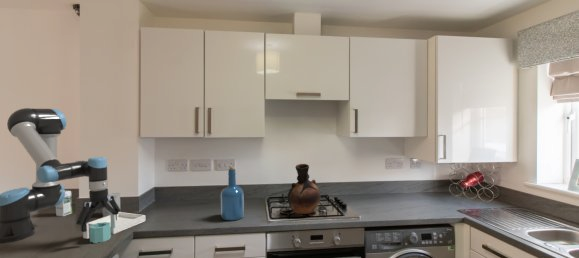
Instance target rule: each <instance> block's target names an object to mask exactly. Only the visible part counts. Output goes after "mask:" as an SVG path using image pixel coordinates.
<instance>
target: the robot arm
mask: <svg viewBox="0 0 579 258" xmlns="http://www.w3.org/2000/svg"><path fill="white" fill-rule="evenodd" d="M6 125H7V127H6V128H7V129H8V131H9V133H10V135H12V136H13V137H14V138H17V139H18V141H19V142H20V143H21V144H20V145H22V146H23V148H24V149H25V151H26V152H27V154H28V155H29V156H30V157H31V159H32V161H34V163H35V181H34V182H33V183H32V184H31V189H30V188H29V187H19V188H13V189H9V190H6V191H3V192H2V193H0V243H9V242H16V241H19V240H23V239H26V238H29V237H31V236H34V234H36V227H35V225H34V223H33V221H32V219H31V213H33V212H37V211H41V210H45V209H51V208H53V207H56V206H57V205H59V204H61V202H62V201H63V200H64V197H65V191H66V190H65V187H64V185H63V184H61V182H60V181H65V180H70V179H75V178H76V179H77V178H83V177H84V178H85V177H86V178H87V177H88V190H89V192H88V194H89V199H90V201H88V202H87V201H86V202H83V204H82V209H81V211H80V214H79V216H78V219H77V221H76V225H80V228H81V229H80V230H81V232H82V237H83V239H90V230H89V224H87V223H88V222H90V221H89V220H91V218H92V217H93V215H94V213H95V212H96V211H97V210H100V209H102V208H104V207H105V208H106V209H107V210H108V211H110V212H111V213H112V214H111V215H110V217H111V227H112V228H116V220H117V214H118V212H121V207H120V208H119V207H118V205H117V204H116V202H115V200H114V196H108V194H109V189H108V184H109V182H108V163H107V158H106V157H105V156H95V157H89V158H88V159H87V160H77V161H74V162H66V163H61V162H60V160H59V159H58V137H59V136H60V135H61V134H62V131H64V130H65V129H66V127H67V118H66V116H65V114H64V113H63V111H61V110H60V109H55V108H29V107H28V108H27V107H26V108H20V109H17V110H15V111H14V112H13V113H11V115H10V116H9V117H8V119H7V124H6ZM107 196H108V197H107ZM107 201H109V202H110V204H111V205H112V207H113V208H112V207H111V206H110V205H109V204H108V203H107Z"/></svg>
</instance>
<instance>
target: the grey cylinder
mask: <svg viewBox="0 0 579 258" xmlns="http://www.w3.org/2000/svg"><path fill="white" fill-rule="evenodd" d="M108 196H114V200H115V202H116V204H117V205H118V207H119V208H120V209H121V193H118V192H112V193H108ZM108 196H107V197H108ZM107 203H108V204H109V205H110V206H111V207H112V205H111V204H110V202H109V201H107ZM112 208H113V207H112ZM101 209H102V218H103V217H106V216H109V215H111V214H112V213H111V212H110V211H108V210H107V209H106V208H105V207H104V208H101Z"/></svg>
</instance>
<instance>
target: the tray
mask: <svg viewBox="0 0 579 258" xmlns="http://www.w3.org/2000/svg"><path fill="white" fill-rule="evenodd" d="M102 222H108V223H110V232H111V235H112V234H113V235H115V234H117V233H120V232H122V231H125V230H127V229H129V228H132V227H135V226H136V225H139V224H141V223H144V222H146V215H145V214H138V213H129V212H124V211H123V212H122V211H120V212H118V214H117V220H116V228H112V227H111V217H110V215H109V216H106V217H103V216H102V217H101V218H98V219H94V220H92V221H88V222H87V224H89V231H90V226H91V225H94V224H97V223H102Z"/></svg>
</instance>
